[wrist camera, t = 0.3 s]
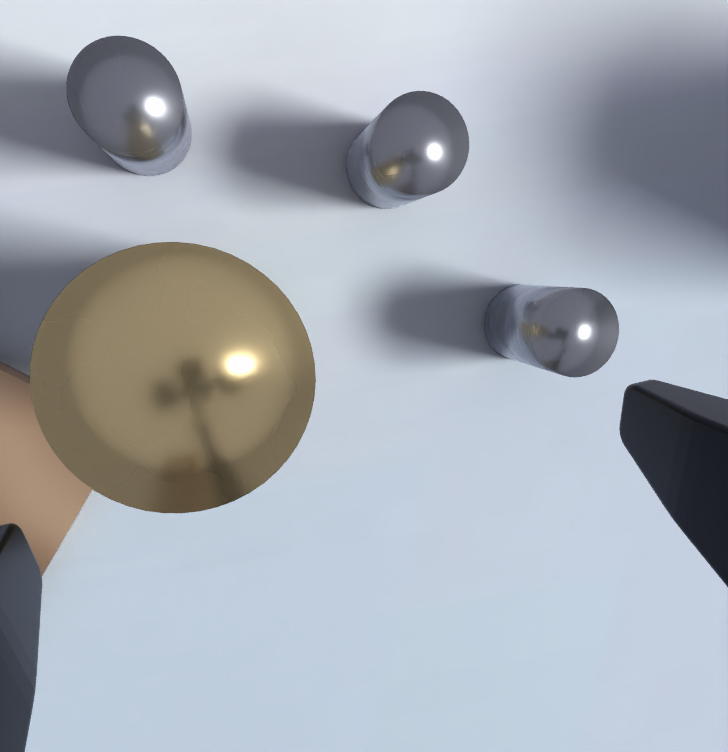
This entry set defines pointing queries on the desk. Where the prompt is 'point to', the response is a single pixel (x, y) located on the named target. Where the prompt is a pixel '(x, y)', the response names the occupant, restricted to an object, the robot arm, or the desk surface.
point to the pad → (33, 473)
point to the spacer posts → (366, 175)
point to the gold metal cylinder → (172, 377)
